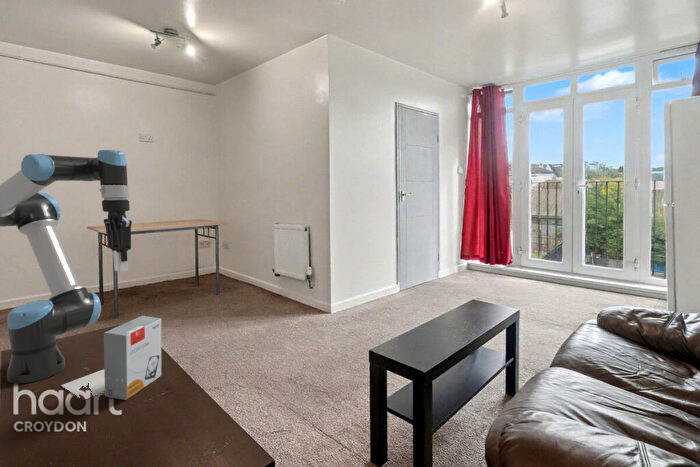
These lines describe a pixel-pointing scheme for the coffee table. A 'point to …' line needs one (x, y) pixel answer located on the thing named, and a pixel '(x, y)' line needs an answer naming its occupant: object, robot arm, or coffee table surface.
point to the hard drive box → (132, 356)
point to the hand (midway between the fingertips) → (121, 270)
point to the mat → (94, 381)
